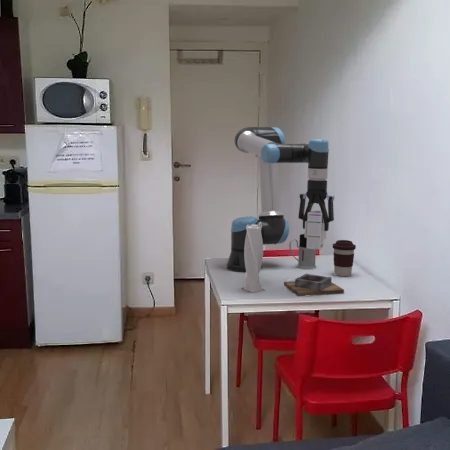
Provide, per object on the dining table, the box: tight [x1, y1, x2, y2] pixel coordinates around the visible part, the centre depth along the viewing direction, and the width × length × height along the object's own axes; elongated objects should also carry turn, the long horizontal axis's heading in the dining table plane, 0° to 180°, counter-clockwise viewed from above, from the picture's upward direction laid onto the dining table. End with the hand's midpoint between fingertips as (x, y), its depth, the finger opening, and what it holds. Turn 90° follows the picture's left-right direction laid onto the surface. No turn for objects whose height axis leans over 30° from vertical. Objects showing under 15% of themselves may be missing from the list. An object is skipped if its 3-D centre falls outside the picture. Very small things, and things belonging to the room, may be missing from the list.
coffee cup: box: [332, 239, 357, 277], centre depth 252 cm, size 10×10×15 cm
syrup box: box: [307, 210, 324, 251], centre depth 224 cm, size 6×6×14 cm
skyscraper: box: [241, 222, 266, 293], centre depth 224 cm, size 8×8×28 cm
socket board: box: [283, 273, 345, 297], centre depth 228 cm, size 16×19×4 cm
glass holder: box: [288, 233, 317, 270], centre depth 264 cm, size 9×14×15 cm, turn 117°
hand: (315, 237), depth 225 cm, fingers closed on syrup box, 6 cm apart
